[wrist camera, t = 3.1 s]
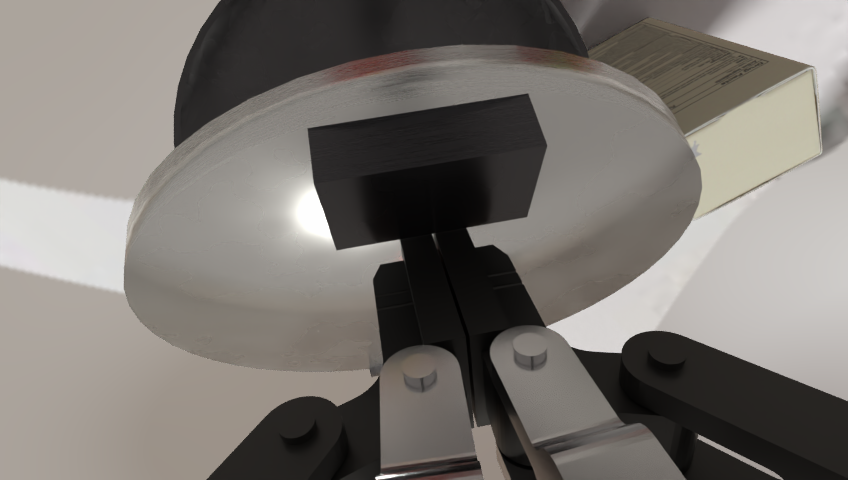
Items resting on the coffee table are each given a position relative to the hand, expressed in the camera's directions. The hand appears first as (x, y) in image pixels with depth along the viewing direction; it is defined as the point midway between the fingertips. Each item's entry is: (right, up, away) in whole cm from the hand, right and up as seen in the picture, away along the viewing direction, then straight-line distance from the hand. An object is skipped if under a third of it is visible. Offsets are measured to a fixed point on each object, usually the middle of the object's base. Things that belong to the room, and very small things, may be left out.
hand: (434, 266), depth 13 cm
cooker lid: (0, 0, +5) cm, 5 cm away
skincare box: (+11, +10, +20) cm, 25 cm away
